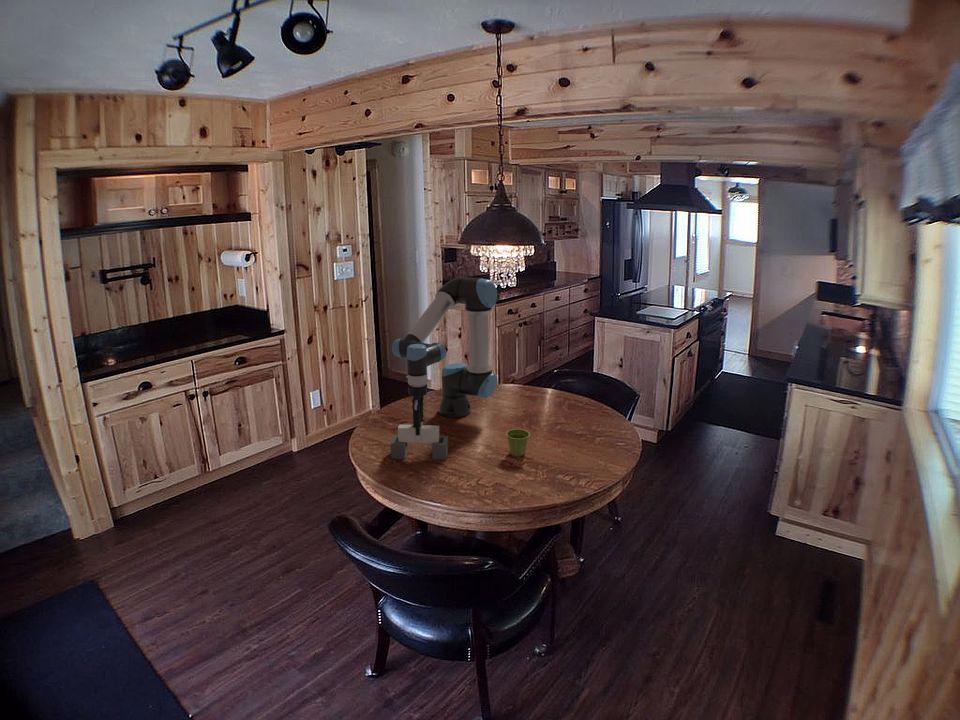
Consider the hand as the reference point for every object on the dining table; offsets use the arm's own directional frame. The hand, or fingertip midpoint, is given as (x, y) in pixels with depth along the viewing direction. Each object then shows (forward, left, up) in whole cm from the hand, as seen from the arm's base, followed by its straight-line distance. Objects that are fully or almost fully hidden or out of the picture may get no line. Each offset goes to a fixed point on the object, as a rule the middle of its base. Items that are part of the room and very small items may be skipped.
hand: (419, 439), depth 237 cm
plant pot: (-34, +20, -7) cm, 40 cm away
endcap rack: (0, 0, -7) cm, 7 cm away
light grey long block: (0, 0, -1) cm, 1 cm away
